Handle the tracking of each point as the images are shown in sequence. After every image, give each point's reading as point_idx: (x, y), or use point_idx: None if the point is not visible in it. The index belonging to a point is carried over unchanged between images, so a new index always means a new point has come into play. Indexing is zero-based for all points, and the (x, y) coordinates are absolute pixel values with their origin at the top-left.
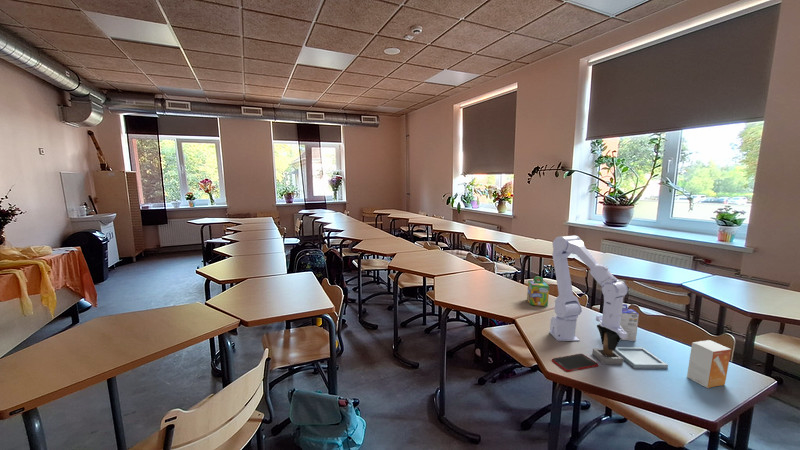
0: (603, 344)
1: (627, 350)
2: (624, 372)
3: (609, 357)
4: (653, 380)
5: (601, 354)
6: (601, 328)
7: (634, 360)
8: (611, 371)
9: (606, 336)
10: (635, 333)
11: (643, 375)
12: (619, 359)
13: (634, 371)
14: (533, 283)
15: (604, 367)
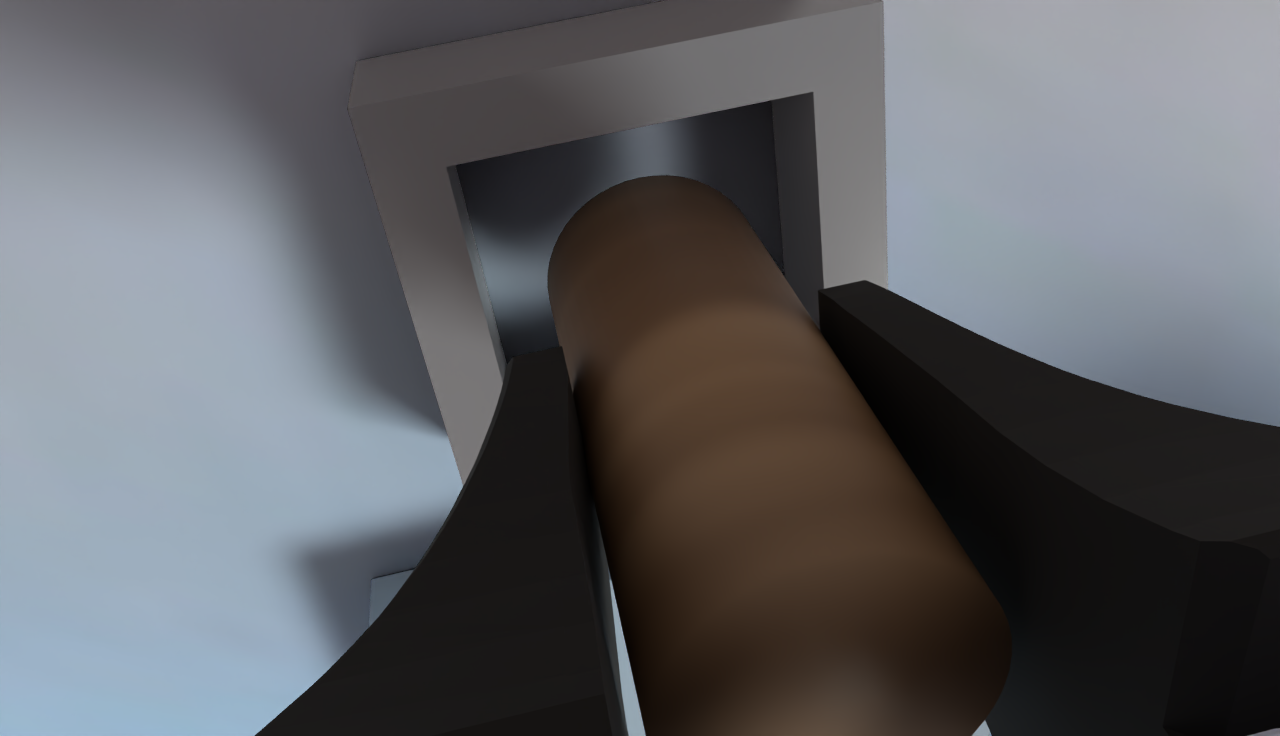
0: (748, 295)
1: None
2: (119, 373)
3: (449, 262)
4: (37, 711)
5: (563, 113)
6: (1171, 607)
7: None
8: (29, 112)
9: (734, 547)
10: None
11: (153, 631)
12: (452, 446)
13: (248, 547)
14: None
15: (176, 10)
